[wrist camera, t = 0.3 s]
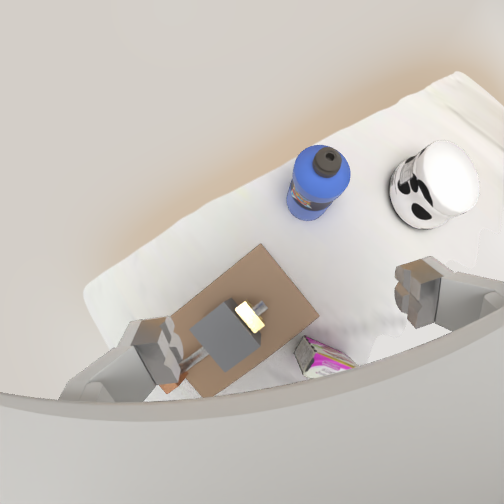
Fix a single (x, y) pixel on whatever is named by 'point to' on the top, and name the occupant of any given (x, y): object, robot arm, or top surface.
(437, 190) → the milk container
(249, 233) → the top surface
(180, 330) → the bearing stand
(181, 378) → the shaft
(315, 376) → the candy bar box
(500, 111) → the top surface
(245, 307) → the spacer
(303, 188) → the water bottle
